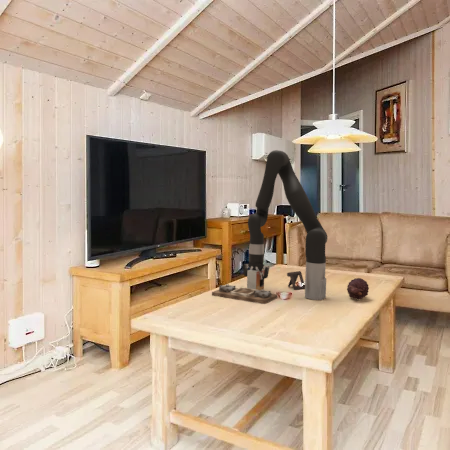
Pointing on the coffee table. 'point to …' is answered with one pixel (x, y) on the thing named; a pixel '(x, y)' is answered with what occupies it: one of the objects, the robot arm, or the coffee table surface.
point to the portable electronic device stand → (293, 279)
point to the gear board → (245, 294)
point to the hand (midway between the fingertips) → (255, 285)
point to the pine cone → (358, 288)
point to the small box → (254, 279)
